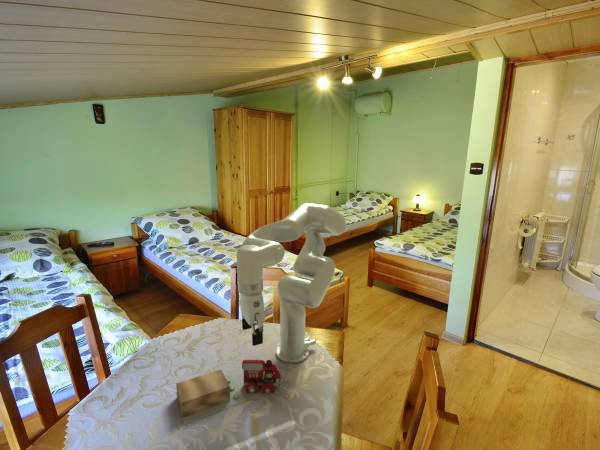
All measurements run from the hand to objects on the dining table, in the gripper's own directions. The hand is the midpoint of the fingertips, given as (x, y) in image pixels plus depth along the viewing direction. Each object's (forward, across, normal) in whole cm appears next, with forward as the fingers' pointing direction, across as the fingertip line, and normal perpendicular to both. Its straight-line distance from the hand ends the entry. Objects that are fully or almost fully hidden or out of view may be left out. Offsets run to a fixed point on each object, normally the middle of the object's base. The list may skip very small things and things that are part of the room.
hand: (252, 336), depth 102 cm
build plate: (+19, +1, +14) cm, 24 cm away
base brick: (+18, +1, +16) cm, 24 cm away
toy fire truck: (+19, -1, -2) cm, 20 cm away
